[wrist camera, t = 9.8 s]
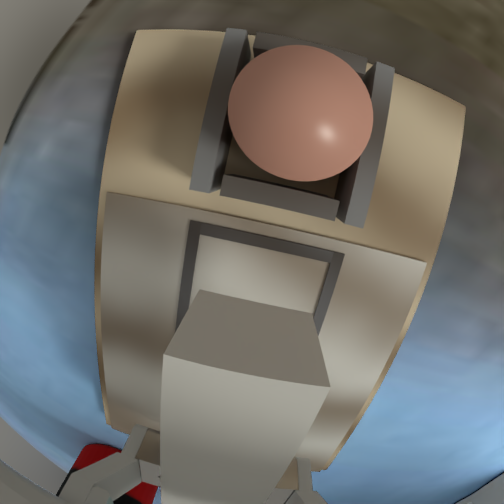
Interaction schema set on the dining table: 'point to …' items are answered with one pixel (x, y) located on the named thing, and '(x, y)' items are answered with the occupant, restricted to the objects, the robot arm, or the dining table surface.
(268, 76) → the button
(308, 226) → the board
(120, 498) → the soda can
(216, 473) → the marker
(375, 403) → the dining table surface
